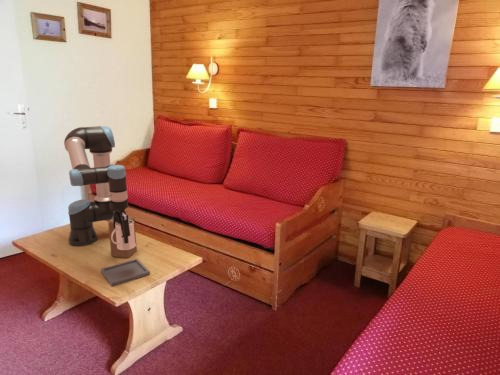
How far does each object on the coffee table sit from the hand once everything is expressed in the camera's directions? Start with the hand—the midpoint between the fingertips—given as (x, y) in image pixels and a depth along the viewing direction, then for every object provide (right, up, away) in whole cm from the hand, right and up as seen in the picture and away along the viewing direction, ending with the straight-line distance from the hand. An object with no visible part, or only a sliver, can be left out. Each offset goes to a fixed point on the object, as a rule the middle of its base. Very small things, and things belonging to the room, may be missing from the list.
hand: (122, 245), depth 174 cm
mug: (0, -1, 0) cm, 1 cm away
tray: (0, -14, +4) cm, 15 cm away
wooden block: (-8, -8, +24) cm, 27 cm away
